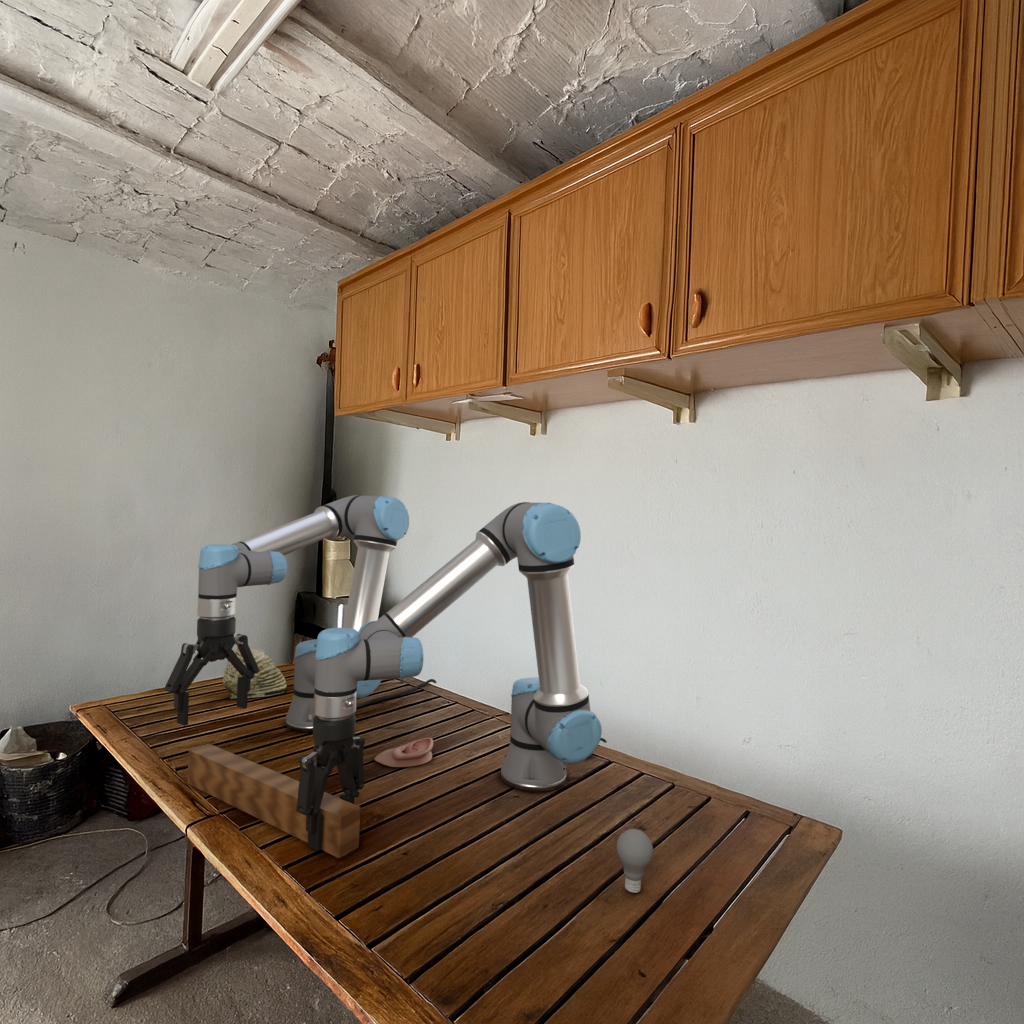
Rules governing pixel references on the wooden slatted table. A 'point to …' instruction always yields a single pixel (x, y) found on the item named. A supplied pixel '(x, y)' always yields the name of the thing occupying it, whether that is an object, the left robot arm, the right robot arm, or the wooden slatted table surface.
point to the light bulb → (634, 857)
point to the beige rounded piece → (407, 754)
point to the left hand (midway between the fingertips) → (213, 715)
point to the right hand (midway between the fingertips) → (330, 838)
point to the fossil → (256, 676)
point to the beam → (271, 797)
